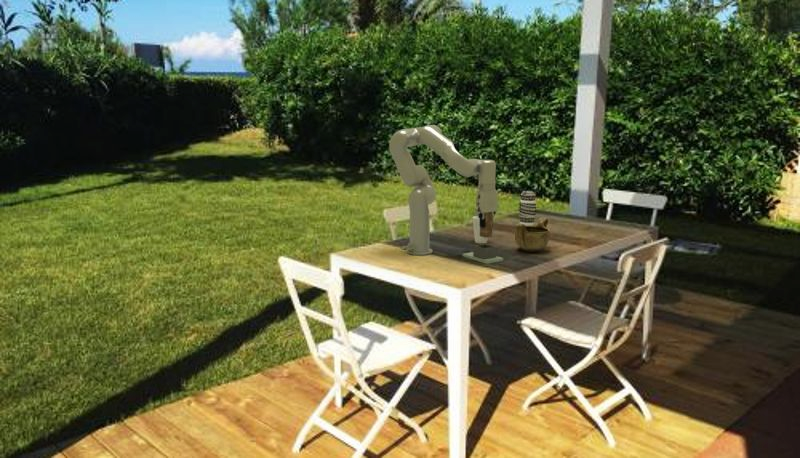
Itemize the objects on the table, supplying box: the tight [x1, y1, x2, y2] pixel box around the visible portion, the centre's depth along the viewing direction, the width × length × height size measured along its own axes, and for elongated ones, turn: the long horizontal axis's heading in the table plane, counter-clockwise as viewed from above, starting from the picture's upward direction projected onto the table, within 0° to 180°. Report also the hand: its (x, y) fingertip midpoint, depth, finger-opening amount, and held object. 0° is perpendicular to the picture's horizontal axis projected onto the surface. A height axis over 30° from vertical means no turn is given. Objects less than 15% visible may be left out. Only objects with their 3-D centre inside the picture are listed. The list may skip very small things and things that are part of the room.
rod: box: [480, 212, 494, 238], centre depth 307 cm, size 4×4×14 cm
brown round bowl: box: [514, 217, 550, 253], centre depth 326 cm, size 22×17×15 cm
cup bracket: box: [462, 243, 504, 264], centre depth 311 cm, size 10×17×6 cm, turn 35°
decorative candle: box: [518, 190, 538, 226], centre depth 354 cm, size 9×9×25 cm
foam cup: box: [472, 215, 489, 244], centre depth 344 cm, size 10×9×13 cm
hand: (486, 226), depth 307 cm, fingers closed on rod, 4 cm apart
